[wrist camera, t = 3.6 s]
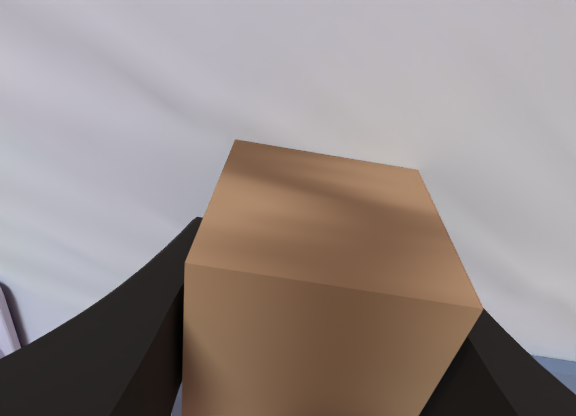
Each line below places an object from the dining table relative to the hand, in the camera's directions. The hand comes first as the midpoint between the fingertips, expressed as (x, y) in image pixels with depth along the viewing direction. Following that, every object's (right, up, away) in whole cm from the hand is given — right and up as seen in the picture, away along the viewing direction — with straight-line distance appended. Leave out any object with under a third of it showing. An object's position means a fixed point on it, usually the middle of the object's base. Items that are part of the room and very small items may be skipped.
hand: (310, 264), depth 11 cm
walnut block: (0, +1, +1) cm, 2 cm away
